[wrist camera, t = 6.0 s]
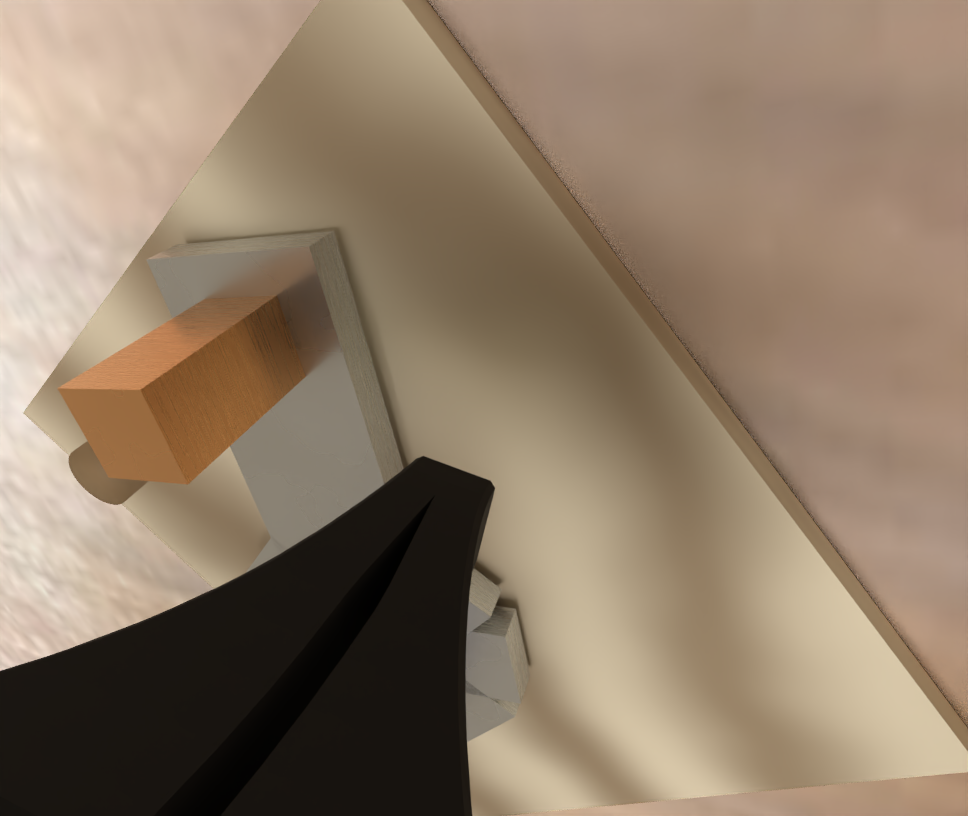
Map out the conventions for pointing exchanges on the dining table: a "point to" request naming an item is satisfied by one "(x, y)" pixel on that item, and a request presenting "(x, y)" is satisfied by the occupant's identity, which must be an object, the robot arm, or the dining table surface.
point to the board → (541, 443)
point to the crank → (274, 412)
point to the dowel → (100, 477)
